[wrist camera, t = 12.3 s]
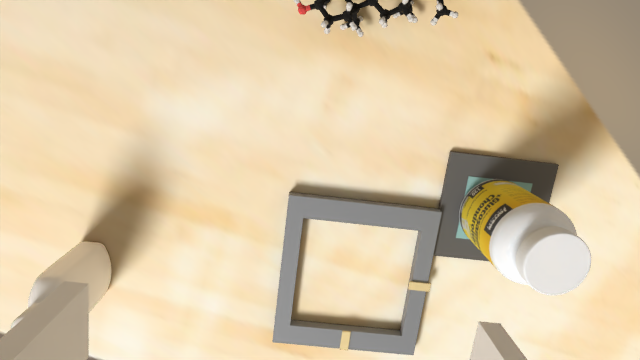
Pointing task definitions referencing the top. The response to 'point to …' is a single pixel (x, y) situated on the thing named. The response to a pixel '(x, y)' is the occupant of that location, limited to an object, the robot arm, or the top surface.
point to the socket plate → (366, 215)
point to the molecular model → (354, 8)
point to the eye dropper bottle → (74, 275)
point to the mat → (471, 172)
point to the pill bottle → (525, 237)
